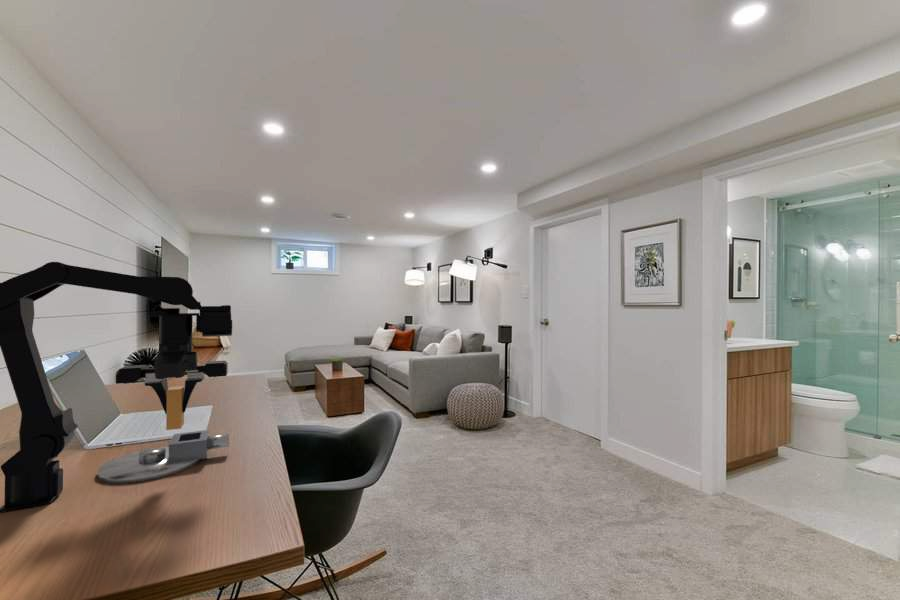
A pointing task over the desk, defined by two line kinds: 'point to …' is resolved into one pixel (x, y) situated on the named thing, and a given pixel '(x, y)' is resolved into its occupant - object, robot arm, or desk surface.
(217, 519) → the desk surface
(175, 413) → the yellow orange block
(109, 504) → the desk surface
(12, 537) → the desk surface
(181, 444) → the rosette bracket
